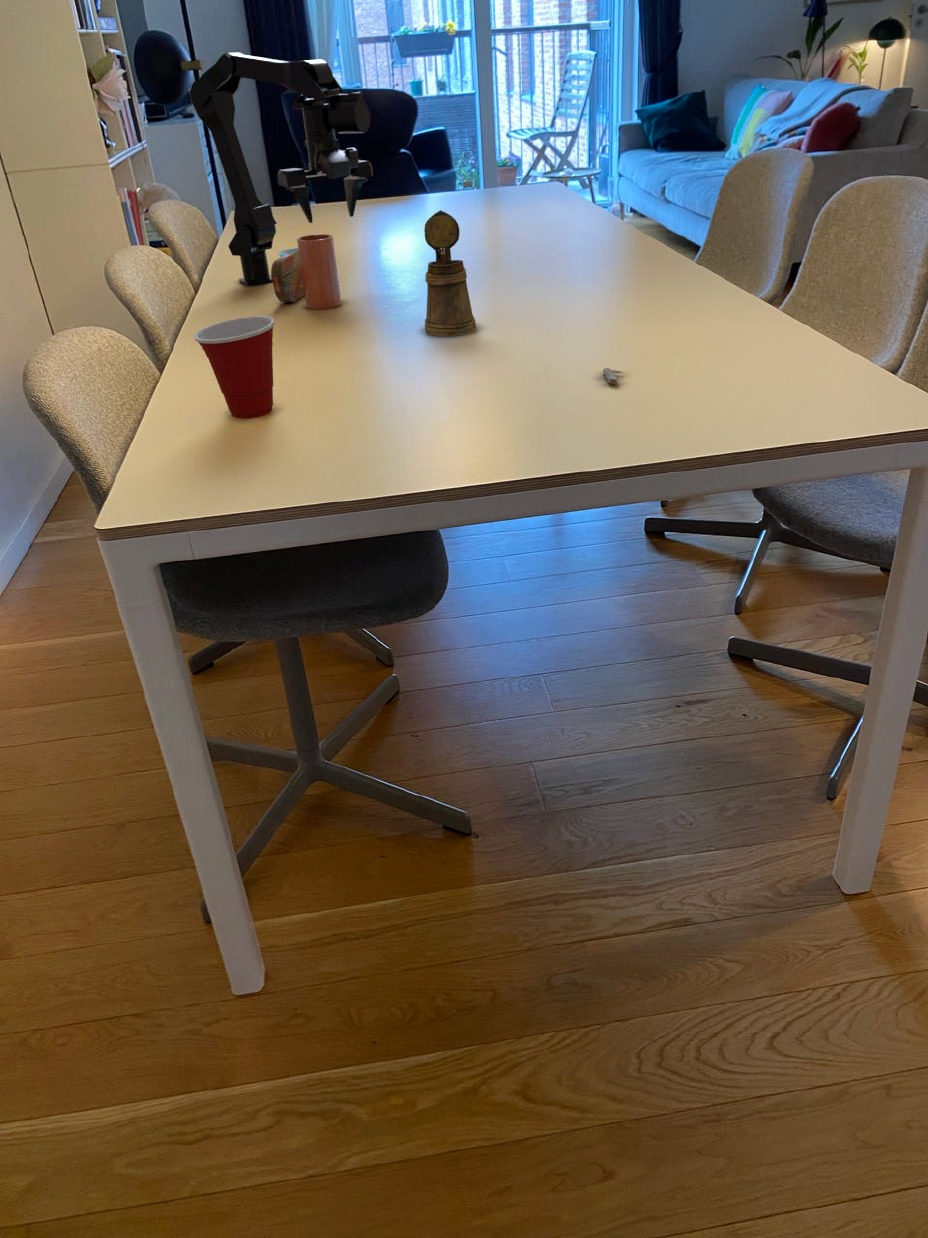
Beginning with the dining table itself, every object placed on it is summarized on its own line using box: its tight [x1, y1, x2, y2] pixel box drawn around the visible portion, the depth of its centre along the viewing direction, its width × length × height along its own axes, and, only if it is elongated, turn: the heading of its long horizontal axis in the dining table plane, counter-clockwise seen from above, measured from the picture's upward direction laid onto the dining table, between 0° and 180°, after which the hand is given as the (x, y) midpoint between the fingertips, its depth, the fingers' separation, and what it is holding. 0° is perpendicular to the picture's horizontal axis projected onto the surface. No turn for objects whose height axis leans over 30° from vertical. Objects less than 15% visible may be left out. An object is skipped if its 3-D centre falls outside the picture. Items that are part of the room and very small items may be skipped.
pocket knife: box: [602, 367, 623, 384], centre depth 129 cm, size 6×1×3 cm
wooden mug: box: [423, 209, 477, 337], centre depth 154 cm, size 9×14×18 cm, turn 4°
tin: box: [270, 251, 305, 303], centre depth 184 cm, size 15×3×8 cm, turn 168°
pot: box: [296, 233, 342, 310], centre depth 176 cm, size 7×7×12 cm
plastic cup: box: [193, 315, 275, 420], centre depth 123 cm, size 11×11×12 cm
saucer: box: [277, 247, 298, 258], centre depth 219 cm, size 12×12×2 cm
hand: (331, 219), depth 187 cm, fingers open, 9 cm apart
